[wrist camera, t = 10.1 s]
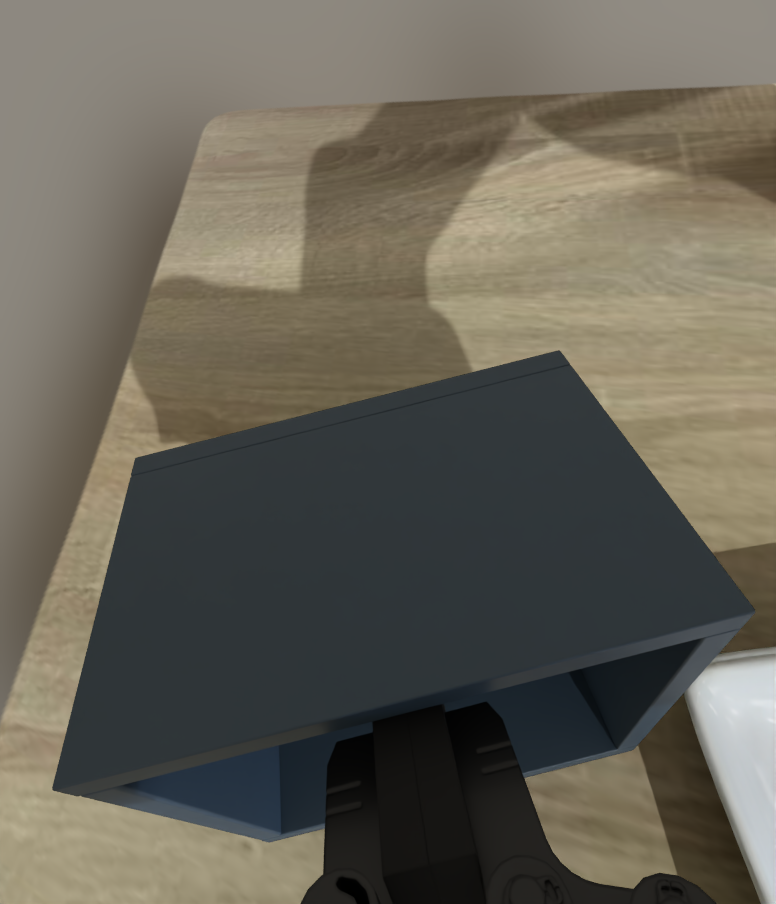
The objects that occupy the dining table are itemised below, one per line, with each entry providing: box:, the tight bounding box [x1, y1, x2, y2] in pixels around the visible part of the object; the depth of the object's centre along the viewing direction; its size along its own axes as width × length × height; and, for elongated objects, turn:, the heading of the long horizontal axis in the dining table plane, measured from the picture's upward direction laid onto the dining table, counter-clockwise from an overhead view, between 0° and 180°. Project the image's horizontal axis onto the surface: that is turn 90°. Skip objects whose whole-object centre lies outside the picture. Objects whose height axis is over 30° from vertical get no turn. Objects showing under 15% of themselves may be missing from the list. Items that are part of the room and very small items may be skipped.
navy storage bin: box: [52, 351, 755, 842], centre depth 17 cm, size 9×14×12 cm, turn 103°
